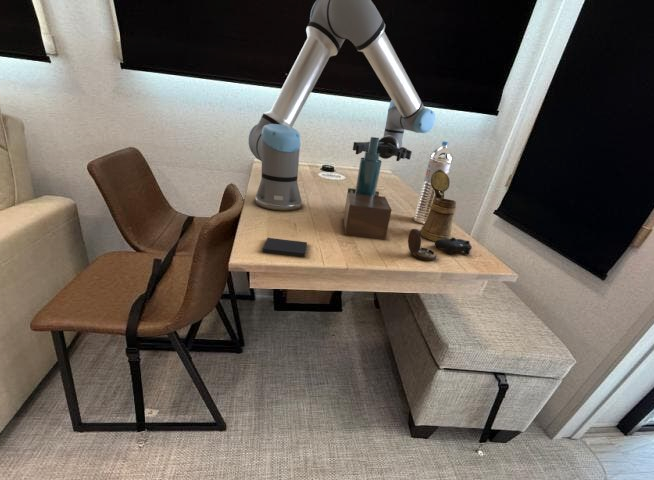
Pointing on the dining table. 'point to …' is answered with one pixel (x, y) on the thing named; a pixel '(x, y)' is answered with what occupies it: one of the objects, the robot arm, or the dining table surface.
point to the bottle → (369, 170)
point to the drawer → (352, 190)
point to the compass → (419, 246)
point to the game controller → (454, 245)
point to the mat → (285, 247)
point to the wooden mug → (439, 210)
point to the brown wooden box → (366, 216)
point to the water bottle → (436, 162)
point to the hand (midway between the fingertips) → (377, 153)
